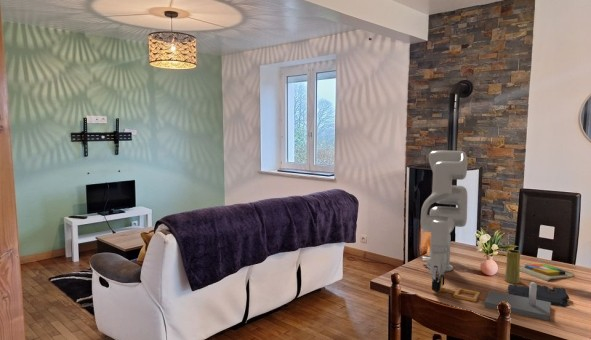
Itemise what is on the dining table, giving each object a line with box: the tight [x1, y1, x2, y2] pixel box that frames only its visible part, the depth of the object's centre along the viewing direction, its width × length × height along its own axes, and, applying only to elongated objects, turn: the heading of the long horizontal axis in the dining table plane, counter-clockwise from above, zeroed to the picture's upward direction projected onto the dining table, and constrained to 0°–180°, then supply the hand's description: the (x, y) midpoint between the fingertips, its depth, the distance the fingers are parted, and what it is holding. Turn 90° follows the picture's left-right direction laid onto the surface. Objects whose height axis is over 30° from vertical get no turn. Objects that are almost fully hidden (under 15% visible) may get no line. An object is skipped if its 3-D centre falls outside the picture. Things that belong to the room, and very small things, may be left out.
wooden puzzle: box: [519, 262, 575, 282], centre depth 201 cm, size 18×19×4 cm
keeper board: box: [483, 281, 552, 322], centre depth 162 cm, size 22×14×11 cm, turn 56°
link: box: [433, 276, 481, 303], centre depth 176 cm, size 18×9×6 cm, turn 56°
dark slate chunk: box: [507, 283, 570, 308], centre depth 173 cm, size 15×22×5 cm
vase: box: [504, 249, 521, 284], centre depth 190 cm, size 6×6×14 cm
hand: (438, 287), depth 180 cm, fingers open, 6 cm apart
